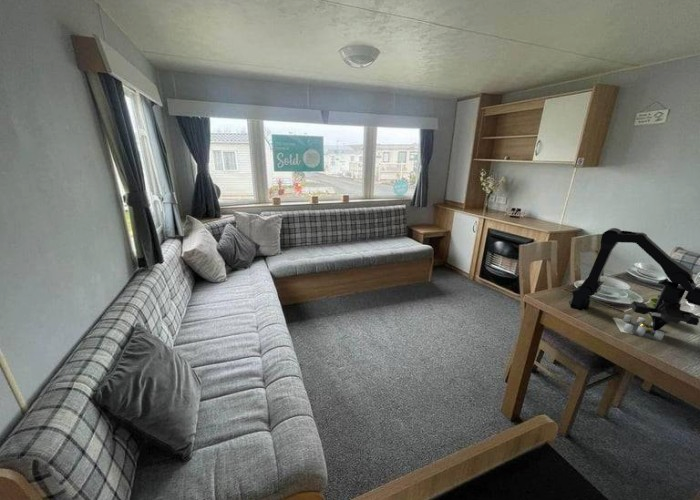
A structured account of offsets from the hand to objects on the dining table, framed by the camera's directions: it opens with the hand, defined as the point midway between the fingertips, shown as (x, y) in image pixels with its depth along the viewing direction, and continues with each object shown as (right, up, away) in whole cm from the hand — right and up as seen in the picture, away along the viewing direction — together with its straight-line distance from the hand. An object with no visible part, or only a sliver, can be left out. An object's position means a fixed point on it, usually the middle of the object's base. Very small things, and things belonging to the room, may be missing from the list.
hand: (654, 330), depth 120 cm
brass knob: (-3, 0, +2) cm, 3 cm away
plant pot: (+12, +2, +10) cm, 16 cm away
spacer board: (-5, -1, +3) cm, 5 cm away
